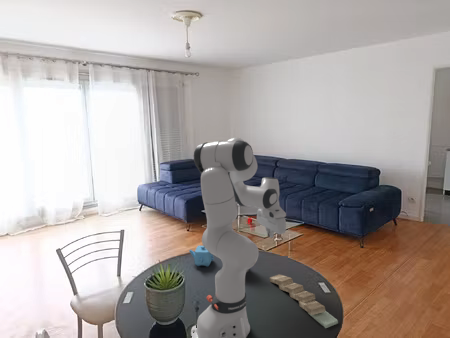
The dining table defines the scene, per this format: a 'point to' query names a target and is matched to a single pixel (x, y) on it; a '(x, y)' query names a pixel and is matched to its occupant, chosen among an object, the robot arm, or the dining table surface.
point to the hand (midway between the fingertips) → (270, 236)
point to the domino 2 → (292, 288)
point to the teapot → (202, 256)
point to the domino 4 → (312, 307)
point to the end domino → (325, 319)
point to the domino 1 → (281, 280)
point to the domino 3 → (303, 296)
